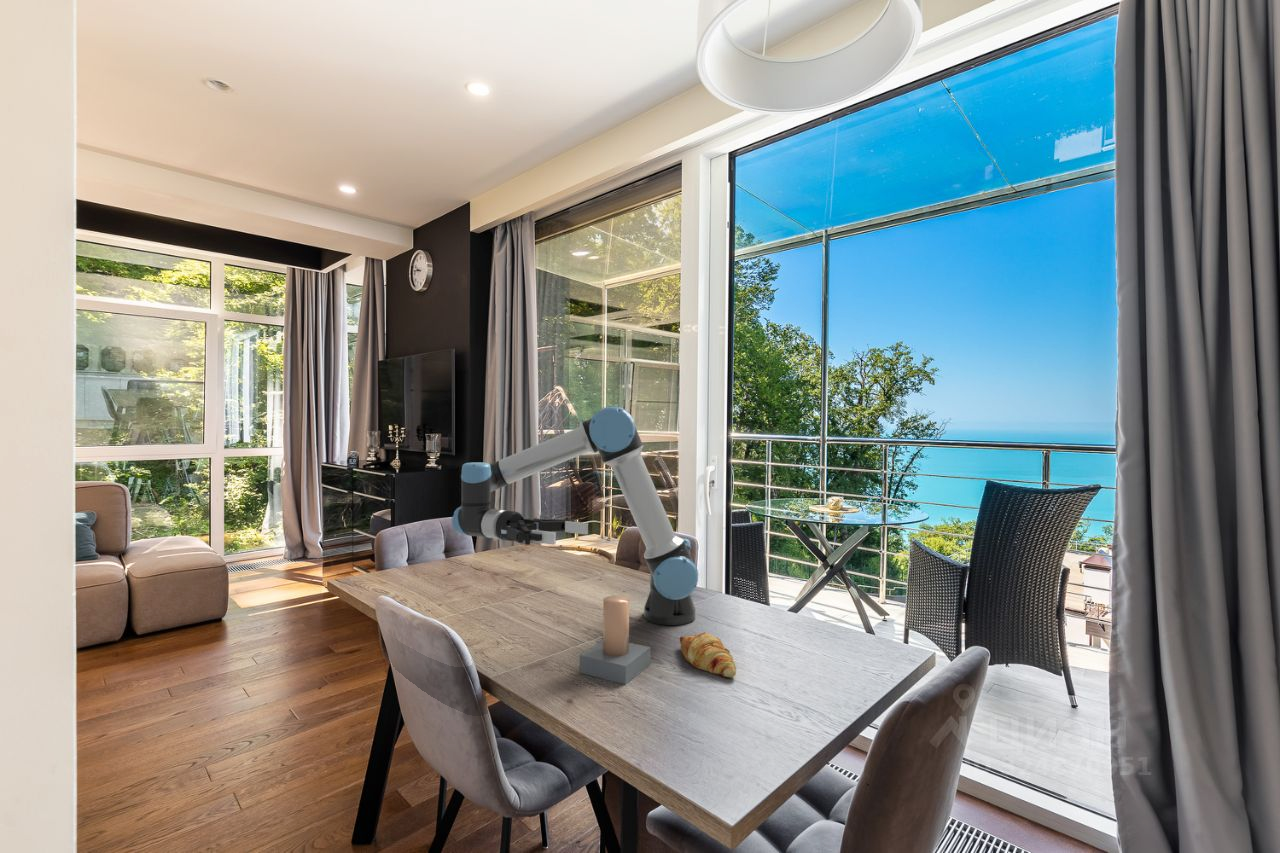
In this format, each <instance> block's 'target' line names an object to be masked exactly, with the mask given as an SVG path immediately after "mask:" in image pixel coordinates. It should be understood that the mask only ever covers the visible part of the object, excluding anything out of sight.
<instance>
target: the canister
mask: <svg viewBox="0 0 1280 853" xmlns="http://www.w3.org/2000/svg"><path fill="white" fill-rule="evenodd" d="M602 605H603V606H602V608H603V609H602V617H603V618H602V641H603V653H604V654H606V655H609V656H622V655H625V654H627V653H628V652H629V643H630V598H629V597H627V596H624V595H609V596H605V597H603V601H602Z"/></svg>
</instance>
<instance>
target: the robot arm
mask: <svg viewBox="0 0 1280 853" xmlns="http://www.w3.org/2000/svg"><path fill="white" fill-rule="evenodd" d="M643 448H644V443H643V442H642V439H641V437H640V435H639V432H638V430H637V428H636V424H635V420H634V418H633V417H632V415H631V414H630V412H628V411H627V410H626V409H624V408H623V407H620V406H616V405H609V406H605V407H602V408H600V409H599V410H597V411H596V412H595V413H594V414H593V416H592V417H591V418H589V419H587V420H585V421H583V422H582V421H581V423H580V425H579V427H576V428H574V429H571V430H569V431H567V432H565V433H562V434H560V435H558V436H555V437H552V438H550V439H547V440H545V441H542V442H540V443H538V444H536V445H535V444H534V445H533V446H531V447H528V448H525V449H523V450H522V451H519V452H516V453H514V454H511V455H508V456H506V457H504V458H502V459H499V460H497V461H494V462H491V463H488V462H479V461H478V462H466V463H464V464H462V467H461V474H460V479H461V502H460V503H461V504H460V506H459V507H457V508H456V509H455V510H454V512H453V515H452V517H451V525H452V528H453V530H454V531H455V532H456V533H458V534H462V535H467V536H469V537H480V538H481V537H482V538H488V539H493V541H494V542H497V541H498V540H501V541H508V542H516V543H519V544H522V543H524V545H525V546H529V545H531V542H532V543H537V544H538V543H539V544H545V545H553V546H554V545H556V543H557V542H556V538H557V536H556V534H557V532H565V533H570V534H576V535H577V534H578V535H588V534H589V523H588V522H578V521H571V519H569V518H568V517H565V519H561V518H560V519H559V518H558V519H557V518H555V519H552V518H550V519H549V518H537V517H536V518H533V519H532V518H524V517H523V515H522V514H521V513H520V512H518V511H512V510H504V509H497V508H496V509H495V508H491V504H492V502H491V495H492V494H491V493H492V492H495V491H496V490H498V489H502V488H503V487H504V488H505V487H507V486H508V485H511V484H513V483H516V482H519V481H521V480H522V479H525V478H527V477H530V476H533V475H535V474H537V473H540V472H542V471H545V470H547V469H550V468H552V467H554V466H555V467H556V466H557V465H560V464H561V463H564V462H567V461H569V460H572V459H574V458H577V457H579V456H582V455H584V454H587V453H589V452H590V453H592V454H595V453H596V454H597V453H599V456H600V458H601V459H602V460H601V461H602V463H603V464H605V465H606V466H608V467H610V468H611V469H612V472H613V474H614V476H615V478H616V481H617V483H618V485H619V488H620V490H621V492H622V495H623V497H624V500H625V502H626V504H627V506H628V509H629V511H630V513H631V516H632V518H633V521H634V523H635V525H636V527H637V529H638V532H639V534H640V537H641V539H642V541H643V544H644V546H645V551H644V554H643V558H644V560H645V562H646V565H647V567H648V569H649V573H650V574H649V575H650V576H649V577H650V578H649V580H650V588H649V592H648V595H647V598H646V602H645V604H644V608H643V617H644V619H645V620H647V621H648V622H650V623H653V624H657V625H662V626H679V625H687V624H689V623H691V622H693V621H695V620H696V616H697V615H696V607H695V603H694V600H693V596H692V593H693V592H694V591H695V590H696V588H697V586H698V583H699V571H698V568H697V566H696V564H695V563H694V560H693V558H692V557H691V549H692V547H691V546H692V545H691V541H690V540H689V539H688V538H683V537H681V536H678V535H676V533H675V531H674V529H673V527H672V524H671V521H670V519H669V517H668V515H667V512H666V509H665V508H664V505H663V503H662V500H661V498H660V496H659V494H658V492H657V489H656V486H655V485H654V482H653V480H652V477H651V475H650V472H649V470H648V468H647V466H646V463H645V460H644V458H643V456H642V451H643Z"/></svg>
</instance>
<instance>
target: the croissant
mask: <svg viewBox="0 0 1280 853" xmlns="http://www.w3.org/2000/svg"><path fill="white" fill-rule="evenodd" d="M679 643H680V650H681V653H682V655H683V656H684V659H685V660H686V661H687V662H688V663H689V664H691V665H692V666H693V667H695V668H696V669H699V670H702V671H706V672H709V673H710V674H717V675H721V676H722V677H724V678H733V677H735V676H736V674H737V667H736V662H735V661H734V658H733V656H732V654H731V652H730V650H729V649H728V648H726V647H725V645H724V644H723V642H722V640H721V639H720V638H718V637H716V636H715V635H713V634H709V633H706V632H702V633H699V634H695V635H693V636H692V635H687V636H686V635H684V636H680V638H679Z"/></svg>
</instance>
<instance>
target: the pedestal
mask: <svg viewBox="0 0 1280 853" xmlns="http://www.w3.org/2000/svg"><path fill="white" fill-rule="evenodd" d="M651 651H652V647H650V646H646V645H642V644H636V643H632V642H629V652H628V653H627V654H625V655H622V656H609V655H606V654H604V653H603V640H602V641H600V642H598V643H597V644H595V645H593V646H592V647H591V648H588V649H586V651H584V652H582V653H581V654H580V655H579V673H580V674H583V675H588V676H591V677H596V678H600V679H603V680H607V681H610V682H614V683H618V684H622V685H627V684H628V683H629V682H631V681H632V680H633V679H634V678H636V677H637V675H639V674H640V673H641V672H643V671H644V670H645V669H647V667H649V666H650V665H651V663H652V661H651V660H652V659H651V655H652V654H651Z"/></svg>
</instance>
